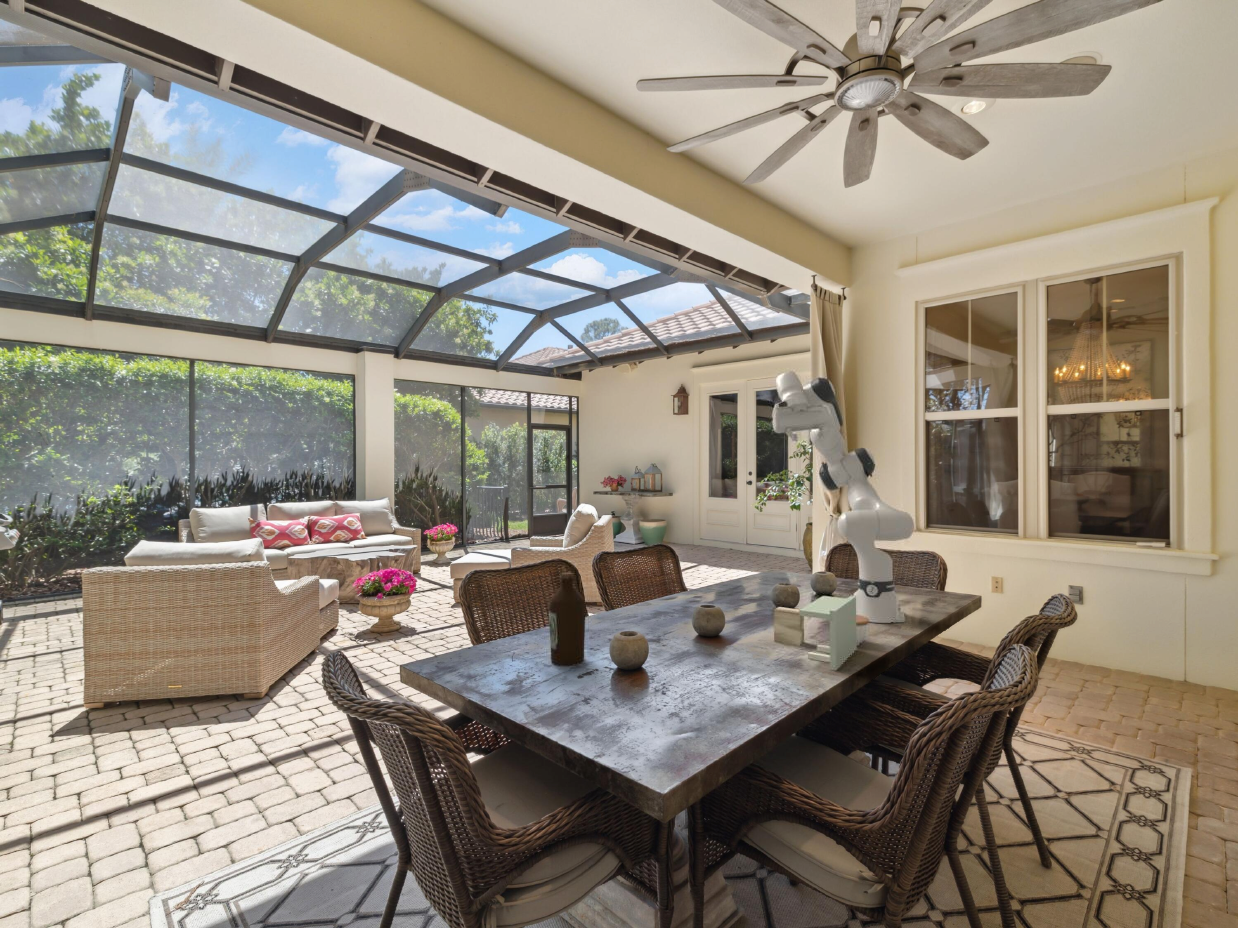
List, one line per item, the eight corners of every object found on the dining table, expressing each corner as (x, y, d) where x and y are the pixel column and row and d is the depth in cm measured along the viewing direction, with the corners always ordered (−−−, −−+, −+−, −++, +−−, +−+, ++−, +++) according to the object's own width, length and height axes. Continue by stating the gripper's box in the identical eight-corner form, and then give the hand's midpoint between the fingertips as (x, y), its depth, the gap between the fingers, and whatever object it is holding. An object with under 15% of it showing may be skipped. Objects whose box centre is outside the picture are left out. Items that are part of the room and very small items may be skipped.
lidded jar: (874, 647, 180) (874, 616, 180) (839, 647, 180) (838, 616, 180) (861, 637, 191) (860, 608, 191) (827, 637, 191) (827, 608, 191)
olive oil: (581, 653, 177) (580, 569, 177) (590, 664, 167) (589, 575, 167) (545, 656, 174) (545, 571, 174) (552, 668, 163) (552, 577, 164)
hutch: (823, 644, 183) (823, 592, 184) (856, 649, 178) (856, 596, 178) (799, 663, 166) (799, 606, 166) (835, 670, 160) (835, 611, 160)
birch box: (779, 638, 191) (779, 606, 191) (804, 642, 186) (803, 610, 186) (774, 641, 187) (773, 609, 187) (799, 645, 183) (799, 613, 183)
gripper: (823, 410, 214) (835, 440, 206) (767, 416, 213) (777, 447, 205) (827, 399, 209) (840, 429, 201) (770, 404, 208) (781, 435, 200)
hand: (808, 438), depth 203 cm, fingers open, 8 cm apart
